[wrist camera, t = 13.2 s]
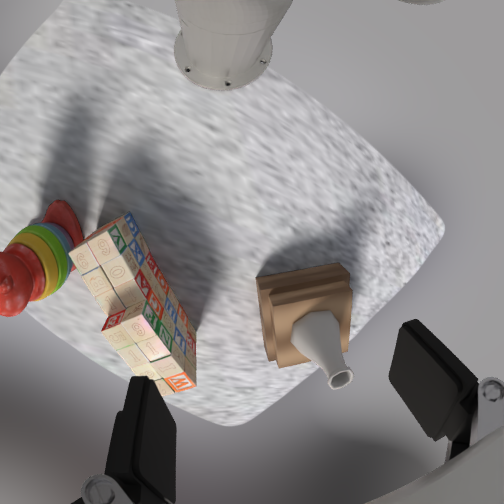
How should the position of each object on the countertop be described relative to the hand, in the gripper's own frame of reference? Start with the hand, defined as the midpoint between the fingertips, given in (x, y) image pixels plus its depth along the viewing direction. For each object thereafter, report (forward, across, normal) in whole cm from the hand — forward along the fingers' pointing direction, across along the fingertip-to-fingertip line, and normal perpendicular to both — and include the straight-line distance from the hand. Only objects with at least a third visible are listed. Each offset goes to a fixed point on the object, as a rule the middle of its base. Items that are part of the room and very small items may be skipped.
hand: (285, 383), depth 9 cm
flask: (+24, -9, +17) cm, 30 cm away
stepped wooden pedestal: (+30, -9, +17) cm, 36 cm away
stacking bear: (+31, +26, 0) cm, 40 cm away
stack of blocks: (+31, +13, +9) cm, 35 cm away
